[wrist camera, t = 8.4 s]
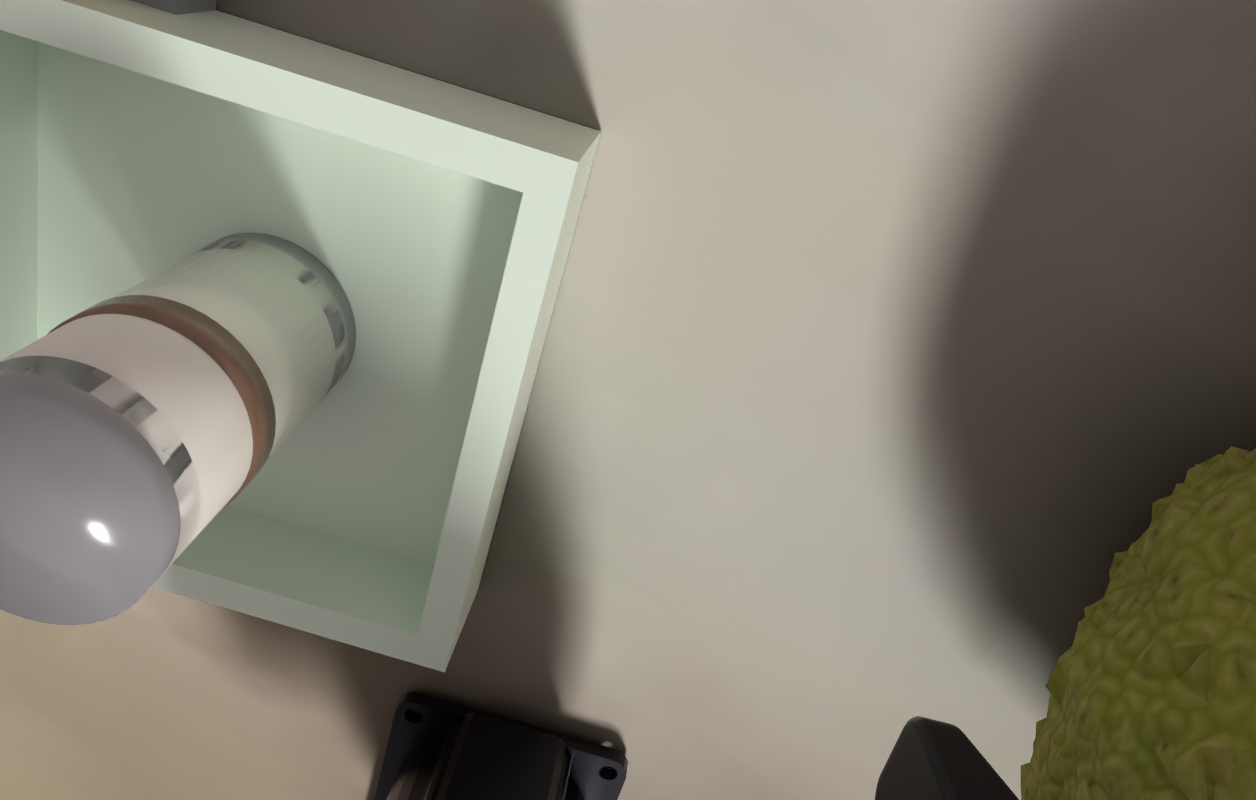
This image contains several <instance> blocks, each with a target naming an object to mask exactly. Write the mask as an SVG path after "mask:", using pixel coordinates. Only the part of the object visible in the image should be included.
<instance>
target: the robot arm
mask: <svg viewBox="0 0 1256 800" xmlns="http://www.w3.org/2000/svg"><path fill="white" fill-rule="evenodd" d="M411 709H415V710H417V711H419V712H420V713H417V712H414V711H412V710H411ZM627 764H628V761H627V759H626V757H625V756H624V755H623V754H622V753H621V752H619V751H617V750H615V749H612V748H608V747H605V746H602V745H598V744H595V743H591V742H588V741H585V740H581V739H578V738H574V737H571V736H568V735H564V734H561V733H557V732H554V731H551V730H547V729H544V728H540V727H537V726H534V725H530V724H527V723H523V722H520V721H516V720H513V719H510V718H506V717H503V716H499V715H496V714H493V713H489V712H486V711H482V710H479V709H476V708H472V707H469V706H465V705H462V704H459V703H455V702H452V701H448V700H445V699H442V698H438V697H435V696H431V695H428V694H425V693H421V692H409V693H406V694H405V695H403V696H402V698H401V700H400V702H399V705H398V707H397V709H396V711H395V716H394V720H393V724H392V728H391V733H390V737H389V741H388V745H387V749H386V754H385V758H384V762H383V766H382V771H381V775H380V779H379V783H378V787H377V792H376V796H375V800H617V799H618V796H619V794H620V791H621V789H622V786H623V784H624V781H625V779H626V772H627ZM605 766H608V767H612V768H613V769H608V768H606V767H605ZM875 800H1019V799H1018V798H1017V797H1016V796H1015V794H1014V793H1013V792H1012V791H1011V790H1010V788H1009V787H1008V786H1007V785H1006V784H1005V782H1004V781H1003V780H1002V779H1001V777H1000V776H999V775H998V774H997V773H996V771H995V770H994V769H993V768H992V767H991V765H990V764H989V763H988V762H987V761H986V759H985V758H984V757H983V756H982V755H981V753H980V752H979V751H978V750H977V749H976V747H975V746H974V745H973V744H972V743H971V741H970V740H969V739H968V738H967V737H966V735H965V734H964V733H963V732H962V731H961V730H960V729H959V728H958V727H956V726H954V725H952V724H949V723H945V722H941V721H936V720H932V719H928V718H924V717H919V716H917V717H913V718H911V719H910V720H909V721H908V722H907V723H906V725H905V726H904V728H903V730H902V732H901V734H900V736H899V738H898V740H897V742H896V744H895V746H894V748H893V750H892V752H891V754H890V756H889V758H888V760H887V762H886V764H885V766H884V769H883V771H882V773H881V775H880V777H879V780H878V784H877V788H876V795H875Z"/></svg>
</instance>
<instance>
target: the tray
mask: <svg viewBox="0 0 1256 800" xmlns="http://www.w3.org/2000/svg"><path fill="white" fill-rule="evenodd" d="M600 134H601V131H598V130H595V129H592V128H589V127H586V126H582V125H579V124H576V123H573V122H570V121H567V120H563V119H560V118H557V117H554V116H551V115H547V114H544V113H541V112H538V111H535V110H532V109H528V108H525V107H522V106H519V105H516V104H512V103H509V102H506V101H503V100H500V99H497V98H493V97H490V96H487V95H484V94H481V93H478V92H474V91H471V90H468V89H465V88H462V87H458V86H455V85H452V84H449V83H446V82H443V81H439V80H436V79H433V78H430V77H427V76H423V75H420V74H417V73H414V72H411V71H408V70H404V69H401V68H398V67H395V66H392V65H389V64H385V63H382V62H379V61H376V60H373V59H369V58H366V57H363V56H360V55H357V54H354V53H350V52H347V51H344V50H341V49H338V48H334V47H331V46H328V45H325V44H322V43H319V42H315V41H312V40H309V39H306V38H303V37H300V36H296V35H293V34H290V33H287V32H284V31H280V30H277V29H274V28H271V27H268V26H265V25H261V24H258V23H255V22H252V21H249V20H245V19H242V18H239V17H236V16H233V15H230V14H226V13H223V12H220V11H217V10H213V11H205V12H196V13H187V14H178V15H175V14H172V13H169V12H166V11H162V10H159V9H156V8H153V7H150V6H146V5H143V4H140V3H137V2H134V1H130V0H0V361H1V360H2V359H4V358H6V357H8V356H10V355H11V354H13V353H15V352H17V351H19V350H20V349H22V348H24V347H26V346H28V345H29V344H31V343H33V342H35V341H36V340H38V339H40V338H42V337H44V336H45V335H47V334H48V333H49V332H50V331H51V330H52V329H54V328H55V327H56V326H58V325H59V324H60V323H62V322H64V321H66V320H68V319H69V318H71V317H73V316H75V315H77V314H78V313H80V312H82V311H84V310H86V309H87V308H89V307H91V306H93V305H95V304H97V303H99V302H101V301H104V300H107V299H111V298H113V297H115V296H117V295H119V294H120V293H122V292H124V291H126V290H128V289H129V288H131V287H133V286H135V285H137V284H138V283H140V282H142V281H144V280H145V279H147V278H149V277H151V276H153V275H154V274H156V273H158V272H160V271H162V270H163V269H165V268H167V267H169V266H170V265H172V264H174V263H176V262H178V261H179V260H181V259H183V258H185V257H187V256H188V255H190V254H192V253H194V252H195V251H197V250H199V249H201V248H203V247H204V246H206V245H208V244H210V243H212V242H214V241H216V240H218V239H220V238H222V237H225V236H228V235H232V234H238V233H262V234H269V235H273V236H277V237H280V238H283V239H285V240H288V241H291V242H293V243H294V244H296V245H298V246H300V247H302V248H304V249H305V250H307V251H308V252H310V253H311V254H313V255H314V256H315V257H316V258H317V259H319V260H320V261H321V262H322V263H323V264H324V265H325V266H326V267H327V268H328V269H329V270H330V271H331V272H332V274H333V275H334V276H335V278H336V279H337V280H338V281H339V283H340V285H341V286H342V288H343V290H344V291H345V293H346V295H347V298H348V300H349V302H350V305H351V308H352V311H353V314H354V320H355V325H356V343H355V350H354V354H353V358H352V360H351V363H350V365H349V367H348V369H347V371H346V372H345V374H344V375H343V377H342V378H341V379H340V380H339V381H338V382H337V384H336V385H335V386H334V387H333V388H332V389H331V390H330V391H329V392H328V393H327V394H326V396H325V397H324V398H323V399H322V400H321V401H320V402H319V403H318V404H317V405H316V407H315V408H314V409H313V410H312V411H311V412H310V413H309V414H308V415H307V416H306V417H305V419H304V420H303V421H302V422H301V423H300V424H299V425H298V426H297V427H296V428H295V429H294V431H293V432H292V433H291V434H290V435H289V436H288V437H287V438H286V439H285V440H284V441H283V443H282V444H281V445H280V446H279V447H278V448H277V449H276V450H275V451H274V452H273V453H272V455H271V456H270V457H269V458H268V459H267V461H266V463H265V464H264V466H263V468H262V469H261V470H260V471H259V473H258V474H257V475H256V476H255V477H254V478H253V479H252V481H251V482H250V483H249V484H248V485H247V486H246V487H245V488H244V489H243V490H242V492H241V493H240V494H239V495H238V496H237V497H236V498H235V499H234V500H233V501H232V502H231V503H229V504H228V505H227V506H226V507H224V508H223V509H221V510H220V511H219V512H218V514H217V515H216V516H215V517H214V518H213V519H212V520H211V521H210V522H209V523H208V524H207V526H206V527H205V528H204V529H203V530H202V531H201V532H200V533H199V534H198V535H197V536H196V538H195V539H194V540H193V541H192V542H191V543H190V544H189V545H188V546H187V547H186V549H185V550H184V551H183V552H182V553H181V554H180V555H179V556H178V557H177V558H176V559H175V561H174V562H173V563H172V564H171V565H170V566H169V567H168V568H167V569H166V570H165V571H164V573H163V574H162V575H161V576H160V577H159V578H158V579H157V580H156V581H155V582H154V583H153V585H152V586H153V587H156V588H159V589H163V590H166V591H170V592H173V593H176V594H180V595H183V596H187V597H190V598H193V599H197V600H200V601H203V602H207V603H210V604H214V605H217V606H220V607H224V608H227V609H231V610H234V611H237V612H241V613H244V614H248V615H251V616H254V617H258V618H261V619H265V620H268V621H271V622H275V623H278V624H282V625H285V626H288V627H292V628H295V629H299V630H302V631H305V632H309V633H312V634H316V635H319V636H322V637H326V638H329V639H332V640H336V641H339V642H343V643H346V644H349V645H353V646H356V647H360V648H363V649H366V650H370V651H373V652H377V653H380V654H383V655H387V656H390V657H394V658H397V659H400V660H404V661H407V662H411V663H414V664H417V665H421V666H424V667H428V668H431V669H434V670H438V671H441V672H444V673H445V671H446V668H447V666H448V663H449V661H450V658H451V656H452V653H453V651H454V648H455V646H456V643H457V641H458V638H459V636H460V633H461V631H462V628H463V626H464V623H465V621H466V619H467V616H468V614H469V611H470V609H471V606H472V604H473V601H474V599H475V596H476V594H477V591H478V588H479V584H480V581H481V577H482V573H483V569H484V566H485V562H486V558H487V555H488V551H489V547H490V543H491V540H492V536H493V532H494V529H495V525H496V521H497V517H498V514H499V510H500V506H501V503H502V499H503V495H504V491H505V488H506V484H507V480H508V476H509V473H510V469H511V465H512V462H513V458H514V454H515V450H516V447H517V443H518V439H519V436H520V432H521V428H522V424H523V421H524V417H525V413H526V410H527V406H528V402H529V398H530V395H531V391H532V387H533V384H534V380H535V376H536V372H537V369H538V365H539V361H540V358H541V354H542V350H543V346H544V343H545V339H546V335H547V331H548V328H549V324H550V320H551V317H552V313H553V309H554V305H555V302H556V298H557V294H558V291H559V287H560V283H561V279H562V276H563V272H564V268H565V265H566V261H567V257H568V253H569V250H570V246H571V242H572V239H573V235H574V231H575V227H576V224H577V220H578V216H579V213H580V209H581V205H582V201H583V198H584V194H585V190H586V186H587V183H588V179H589V175H590V172H591V168H592V164H593V160H594V157H595V153H596V149H597V146H598V142H599V138H600Z"/></svg>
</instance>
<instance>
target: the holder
mask: <svg viewBox="0 0 1256 800" xmlns="http://www.w3.org/2000/svg"><path fill="white" fill-rule="evenodd" d="M130 1H134V2H137V3H140V4H143V5H146V6H150V7H153V8H156V9H159V10H162V11H166V12H169V13H172V14H175V15H178V14H187V13H196V12H205V11H213V10H216V4H217V0H130Z"/></svg>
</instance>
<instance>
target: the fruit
mask: <svg viewBox="0 0 1256 800" xmlns="http://www.w3.org/2000/svg"><path fill="white" fill-rule="evenodd" d="M1109 577H1110V582H1109V584H1108V587H1107V589H1106V592H1105V595H1104V597H1103V598H1102V599H1100V600H1098V601H1097V602H1096V603H1093V604H1091V605H1089V606H1087V607H1085V608H1084V610H1085V618H1084V619H1082V620H1081V621H1079V622H1078V627H1077V631H1076V634H1075V638H1074V641H1073V645H1072V646H1071V647H1070V648H1069V649H1068V650H1067V651H1066V652H1065V653H1064V654H1063V655H1061V656H1060V657H1059V658H1058V660H1057V663H1056V665H1055V667H1054V669H1053V672H1052V674H1051V676H1050V678H1049V681H1048V683H1047V685H1046V687H1047V688H1048V690H1049V691H1050V692H1051V696H1050V698H1049V705H1048V713H1047V718H1045V719H1043V720H1040V721H1038V722H1037V724H1036V739H1035V740H1034V742H1033V754H1032V758H1031V761H1030V763H1027V764H1024V765H1021V798H1022V800H1256V448H1255V449H1254V450H1252V451H1248V450H1244V449H1240V448H1237V447H1233V446H1231V447H1230V448H1229V449H1228V450H1226V451H1225V453H1224V454H1223V455H1222V454H1218V455H1216V456H1214V457H1212V458H1210V459H1208V460H1206V461H1204V462H1202V463H1200V464H1195V467H1193V468H1191V469H1189V470H1187V474H1186V478H1185V482H1184V483H1178V484H1176V486H1175V488H1174V490H1173V492H1172V494H1171V496H1168V497H1165V498H1161V499H1158V500H1156V502H1153V504H1152V518H1151V523H1150V526H1149V528H1148V529H1147V530H1146V531H1145V532H1144V533H1143V534H1142V535H1141V536H1140V537H1139V539H1138V540H1137V541H1136V542H1133V543H1131V545H1130V547H1129V548H1128V550H1127V551H1124V552H1116V553H1115V556H1114V559H1113V562H1112V565H1111V568H1110V570H1109Z"/></svg>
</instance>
